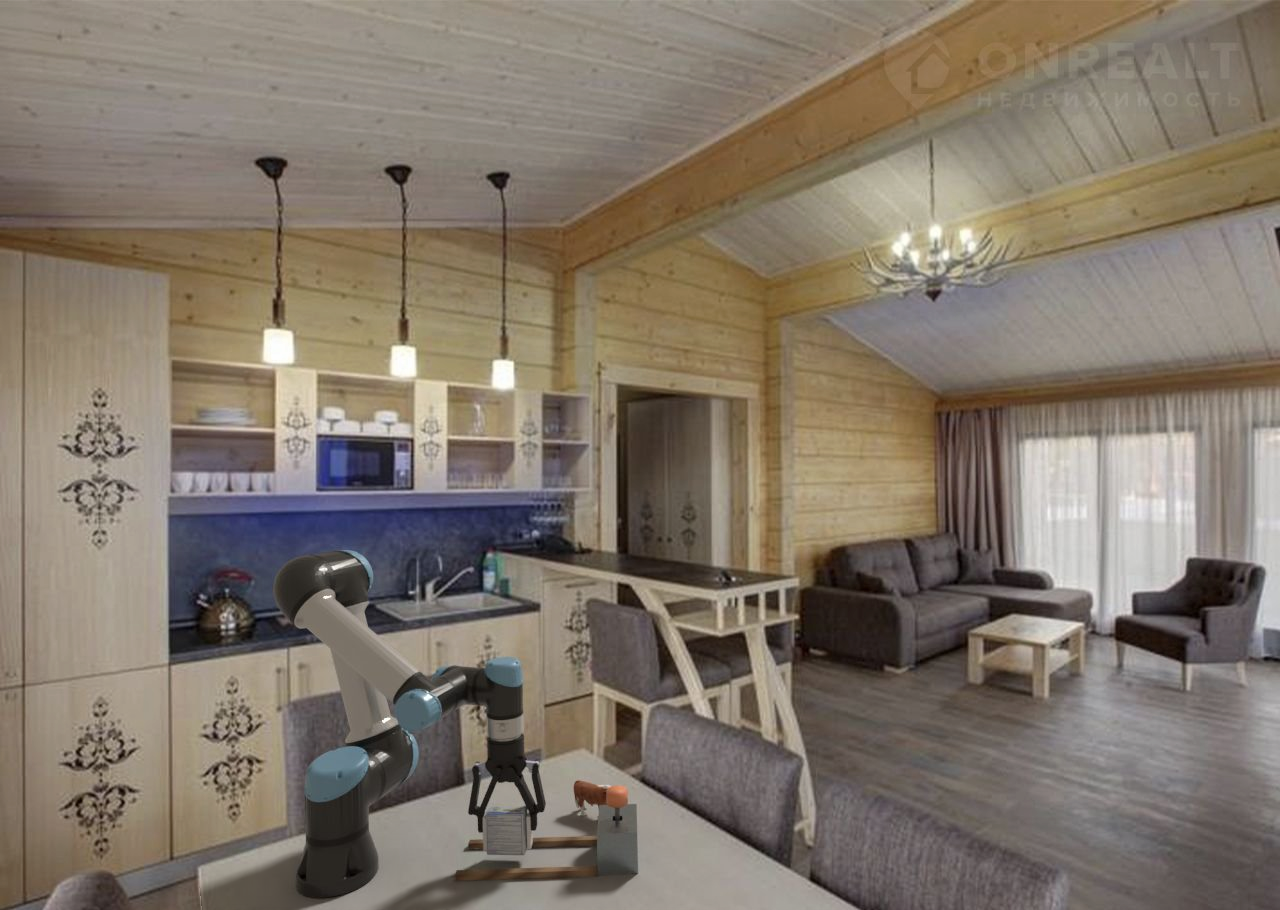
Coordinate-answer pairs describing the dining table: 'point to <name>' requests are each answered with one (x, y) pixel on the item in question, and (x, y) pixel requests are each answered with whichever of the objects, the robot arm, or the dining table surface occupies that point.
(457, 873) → the track
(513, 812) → the medicine box
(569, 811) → the dining table surface
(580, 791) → the bull figurine
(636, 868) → the end cabinet
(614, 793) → the gauge button
